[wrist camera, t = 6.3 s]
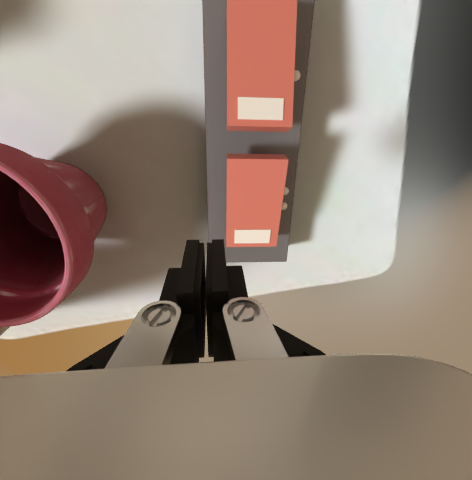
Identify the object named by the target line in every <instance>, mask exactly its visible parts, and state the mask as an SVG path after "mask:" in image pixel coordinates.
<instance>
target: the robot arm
mask: <svg viewBox="0 0 472 480" xmlns="http://www.w3.org/2000/svg"><path fill="white" fill-rule="evenodd" d="M206 315H207V333H208V334H207V335H208V355H209V357H214V362H202V363H201V362H200V363H199V358H201V357H204V350H205V321H206ZM0 480H472V374H470V373H468V372H466V371H464V370H461V369H459V368H456V367H454V366H451V365H448V364H445V363H442V362H438V361H433V360H430V359H425V358H422V357H416V356H409V355H401V354H385V353H371V354H337V355H326V354H324V353H323V352H322V351H320V350H318V349H316V348H315V347H312V346H311V345H309V344H308V343H305V342H304V341H302V340H300V339H298V338H297V337H295V336H293V335H291V334H290V333H288V332H286V331H284V330H282V329H280V328H279V327H277V326H275V325H274V324H272V323H271V321H270V319H269V317H268V315H267V313H266V311H265V309H264V307H263V306H262V304H261V303H259V302H258V301H257V300H255V299H252V298H248V294H247V289H246V284H245V279H244V274H243V269H242V266H226V258H225V247H224V239H212V243H207V266H206V275H205V254H204V243H199V240H187V242H186V247H185V252H184V256H183V261H182V266H181V268H169V270H168V273H167V276H166V279H165V283H164V286H163V290H162V293H161V296H160V300H159V301H157V302H153V303H150V304H148V305H146V306H145V307H143V308H142V309H141V310H140V311H139V312H138V314H137V315H136V317H135V319H134V320H133V322H132V324H131V325H130V327H129V329H128V330H127V332H126V334H125V335H123V336H122V337H120V338H118V339H117V340H115V341H113V342H112V343H110V344H108V345H107V346H105V347H103V348H102V349H100V350H99V351H97V352H95V353H94V354H92V355H90V356H89V357H87V358H85V359H84V360H82V361H81V362H79V363H77V364H75V365H74V366H72V367H71V368H69V369H68V370H67V371H65V372H52V373H37V374H22V375H13V376H3V377H0Z"/></svg>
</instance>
